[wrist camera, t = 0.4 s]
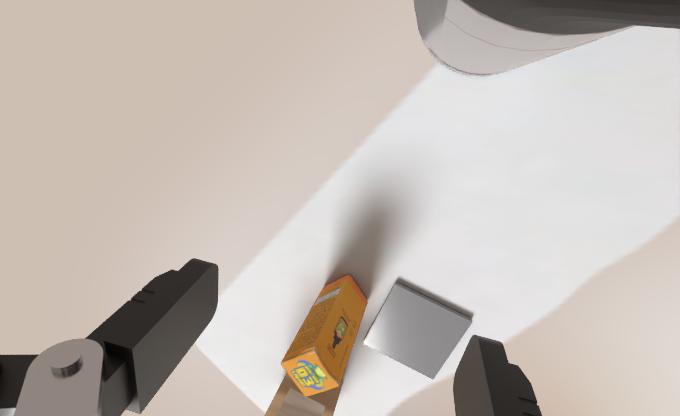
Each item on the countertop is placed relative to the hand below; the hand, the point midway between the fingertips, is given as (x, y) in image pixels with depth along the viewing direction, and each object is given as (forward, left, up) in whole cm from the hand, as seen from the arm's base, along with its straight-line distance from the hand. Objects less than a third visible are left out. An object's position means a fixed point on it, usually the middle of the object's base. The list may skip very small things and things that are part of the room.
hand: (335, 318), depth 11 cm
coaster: (+11, +7, -19) cm, 23 cm away
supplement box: (+11, 0, -19) cm, 22 cm away
